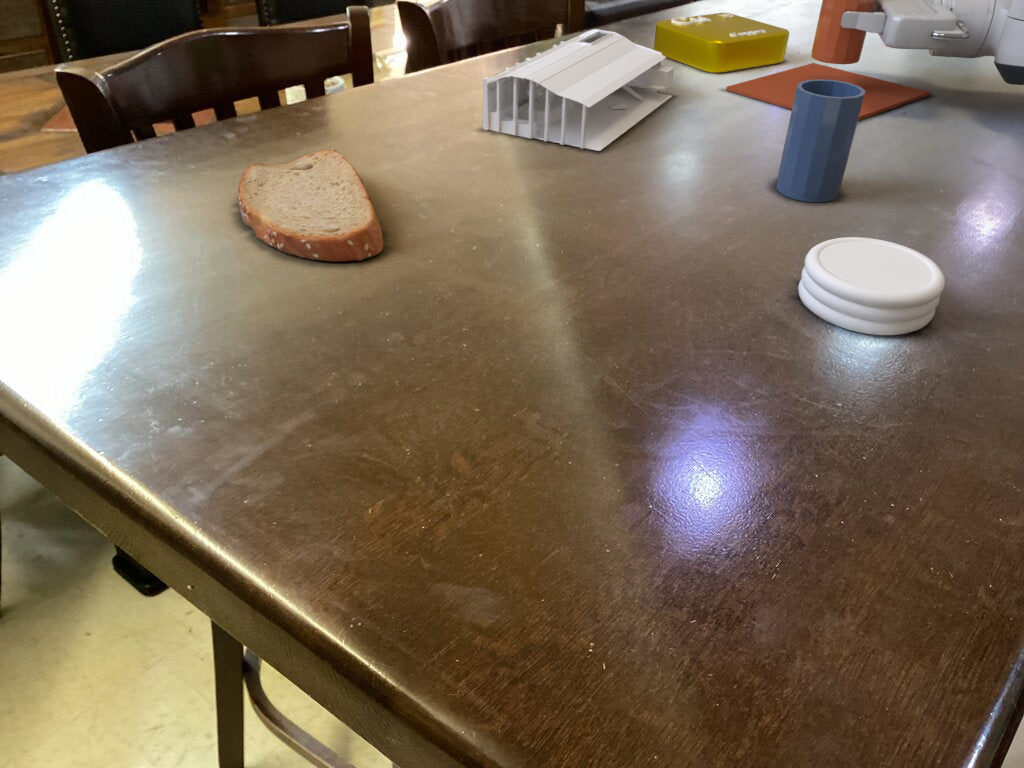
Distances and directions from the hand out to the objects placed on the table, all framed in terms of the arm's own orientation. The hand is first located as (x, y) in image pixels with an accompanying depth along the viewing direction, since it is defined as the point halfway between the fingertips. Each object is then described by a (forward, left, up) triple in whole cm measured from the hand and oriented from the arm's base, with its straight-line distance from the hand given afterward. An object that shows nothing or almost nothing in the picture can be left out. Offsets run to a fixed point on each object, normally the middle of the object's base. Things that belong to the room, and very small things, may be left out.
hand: (838, 12), depth 103 cm
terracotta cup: (-1, -1, -5) cm, 6 cm away
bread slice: (+6, +71, -10) cm, 72 cm away
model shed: (+13, +31, -10) cm, 35 cm away
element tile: (+20, -4, -10) cm, 23 cm away
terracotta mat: (-1, -1, -10) cm, 10 cm away
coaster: (-35, +46, -10) cm, 59 cm away
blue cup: (-19, +30, -10) cm, 37 cm away
